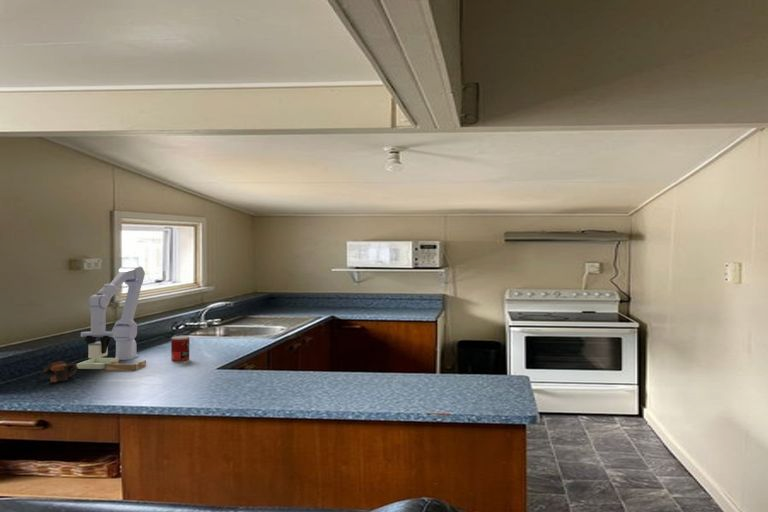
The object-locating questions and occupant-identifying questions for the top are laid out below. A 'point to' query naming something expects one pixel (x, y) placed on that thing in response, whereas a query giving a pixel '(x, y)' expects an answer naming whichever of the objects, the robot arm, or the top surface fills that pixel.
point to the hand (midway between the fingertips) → (98, 353)
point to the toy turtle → (60, 371)
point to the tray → (95, 363)
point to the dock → (124, 366)
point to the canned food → (180, 348)
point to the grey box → (96, 350)
